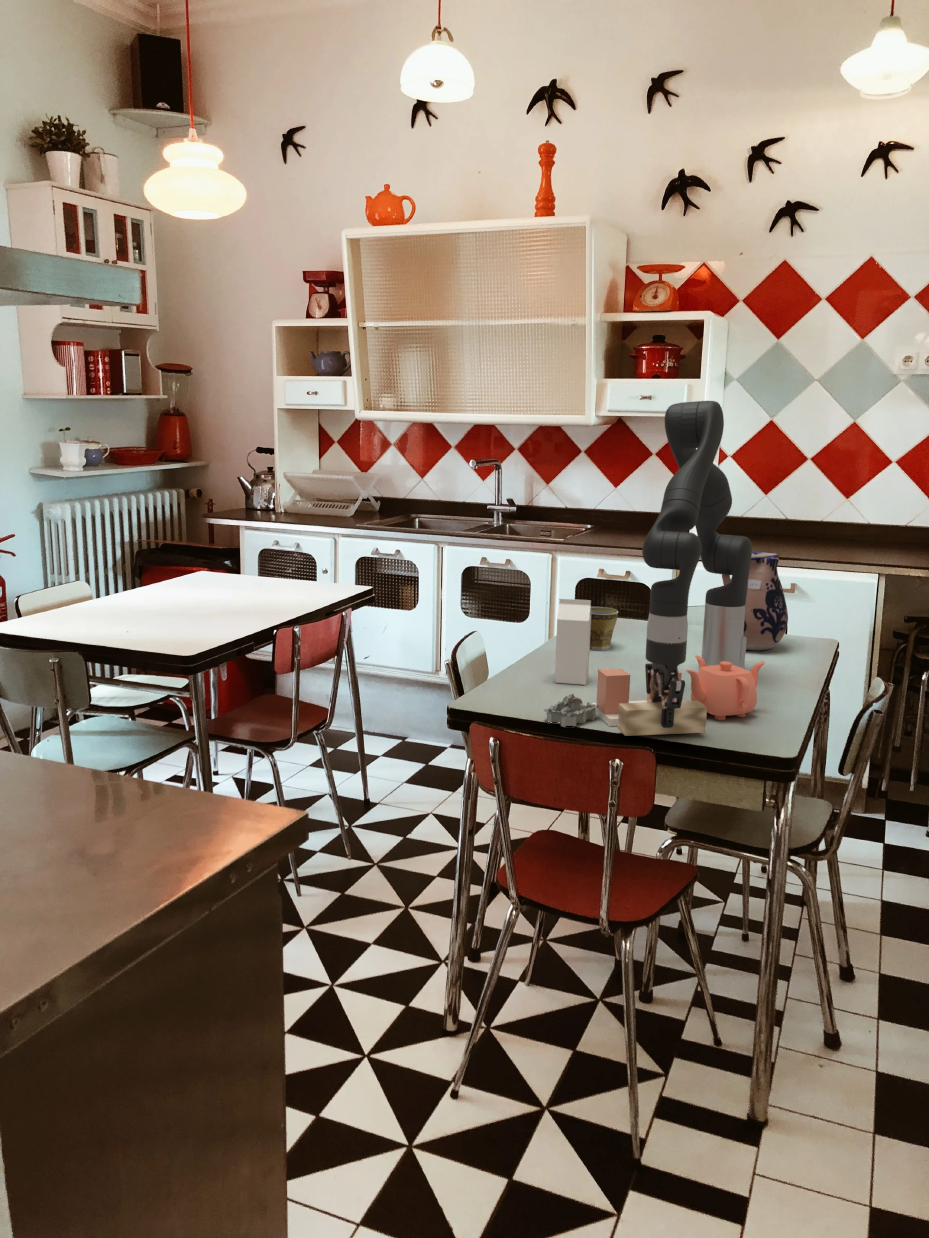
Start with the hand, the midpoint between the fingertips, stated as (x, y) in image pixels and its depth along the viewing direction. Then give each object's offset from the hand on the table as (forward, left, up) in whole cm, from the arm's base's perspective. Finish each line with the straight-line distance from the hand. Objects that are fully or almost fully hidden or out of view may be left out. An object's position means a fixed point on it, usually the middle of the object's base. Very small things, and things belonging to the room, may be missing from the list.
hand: (661, 722), depth 189 cm
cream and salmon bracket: (0, -12, -3) cm, 12 cm away
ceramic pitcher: (-52, -66, -3) cm, 84 cm away
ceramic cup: (-11, -71, -3) cm, 72 cm away
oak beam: (0, 0, -2) cm, 2 cm away
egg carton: (+14, -12, -3) cm, 19 cm away
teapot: (-18, -12, -3) cm, 22 cm away
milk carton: (+5, -40, -3) cm, 40 cm away
